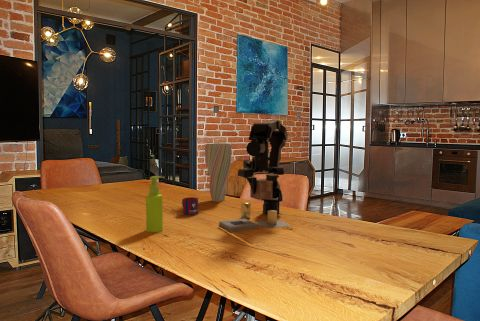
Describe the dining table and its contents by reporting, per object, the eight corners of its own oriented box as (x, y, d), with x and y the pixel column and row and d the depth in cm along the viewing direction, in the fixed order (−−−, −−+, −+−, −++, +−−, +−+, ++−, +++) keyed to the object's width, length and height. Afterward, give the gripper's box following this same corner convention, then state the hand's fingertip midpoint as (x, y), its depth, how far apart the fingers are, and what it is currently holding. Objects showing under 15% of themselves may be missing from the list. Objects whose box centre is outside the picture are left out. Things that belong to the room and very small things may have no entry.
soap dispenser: (167, 228, 145) (166, 175, 143) (157, 233, 138) (156, 177, 137) (153, 227, 147) (152, 174, 145) (143, 231, 140) (142, 176, 139)
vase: (235, 200, 206) (236, 143, 203) (221, 203, 194) (221, 144, 192) (215, 197, 213) (215, 143, 211) (199, 201, 202) (199, 143, 199)
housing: (263, 195, 160) (263, 179, 159) (272, 198, 154) (272, 180, 153) (250, 197, 157) (250, 180, 156) (258, 199, 151) (258, 182, 150)
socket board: (244, 223, 154) (244, 218, 153) (258, 229, 144) (258, 224, 144) (219, 226, 149) (219, 221, 148) (231, 233, 139) (231, 227, 139)
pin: (247, 218, 163) (247, 201, 163) (252, 220, 160) (252, 203, 159) (239, 219, 161) (239, 202, 161) (243, 221, 158) (243, 204, 157)
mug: (186, 216, 166) (186, 200, 166) (177, 211, 175) (177, 197, 174) (200, 214, 170) (200, 199, 169) (191, 210, 178) (191, 195, 178)
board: (276, 220, 158) (276, 207, 158) (291, 226, 149) (292, 212, 148) (253, 223, 154) (253, 209, 153) (267, 229, 144) (267, 215, 143)
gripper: (270, 152, 165) (269, 188, 167) (231, 154, 156) (231, 192, 158) (285, 154, 156) (284, 192, 157) (244, 155, 147) (244, 196, 148)
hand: (261, 193), depth 155 cm, fingers closed on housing, 6 cm apart
